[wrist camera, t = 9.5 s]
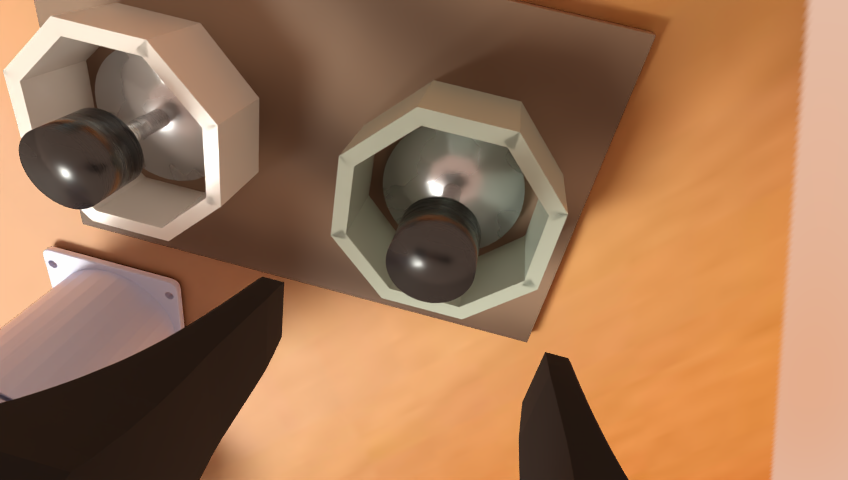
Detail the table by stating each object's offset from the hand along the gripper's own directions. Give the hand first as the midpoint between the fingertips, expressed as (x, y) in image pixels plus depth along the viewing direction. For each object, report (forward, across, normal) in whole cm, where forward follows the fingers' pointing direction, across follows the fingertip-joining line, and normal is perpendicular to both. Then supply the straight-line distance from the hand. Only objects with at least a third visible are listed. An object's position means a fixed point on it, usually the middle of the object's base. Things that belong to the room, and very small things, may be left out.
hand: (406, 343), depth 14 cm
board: (+10, +6, 0) cm, 12 cm away
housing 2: (+10, 0, 0) cm, 10 cm away
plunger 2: (+10, 0, 0) cm, 10 cm away
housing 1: (+10, +13, 0) cm, 17 cm away
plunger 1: (+10, +13, 0) cm, 16 cm away
